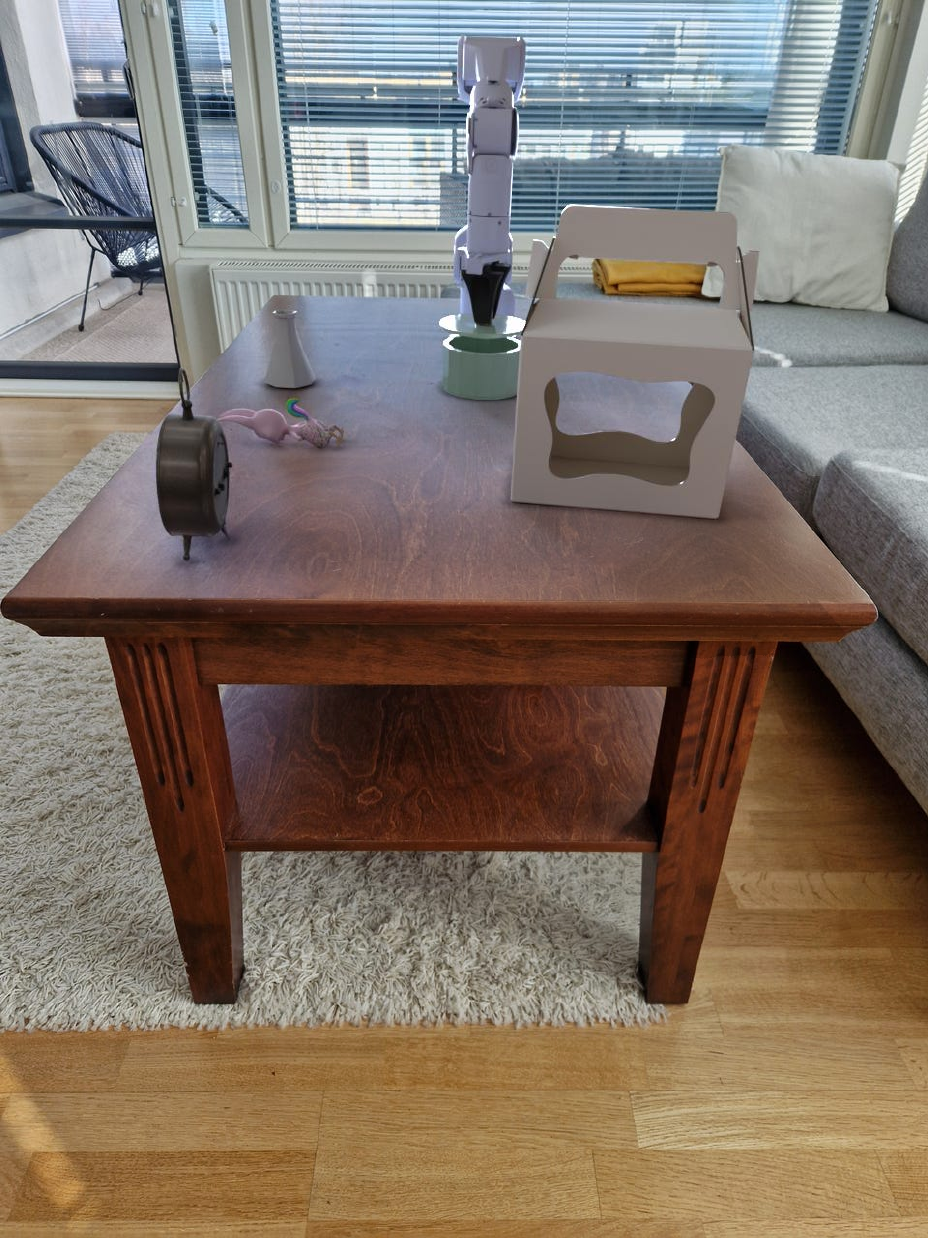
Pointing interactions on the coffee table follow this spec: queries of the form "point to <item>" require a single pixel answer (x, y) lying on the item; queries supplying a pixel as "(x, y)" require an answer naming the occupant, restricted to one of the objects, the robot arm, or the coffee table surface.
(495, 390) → the jar
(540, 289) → the gable box
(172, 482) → the alarm clock
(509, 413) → the coffee table surface
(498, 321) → the lid
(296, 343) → the flask
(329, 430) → the rabbit figure
